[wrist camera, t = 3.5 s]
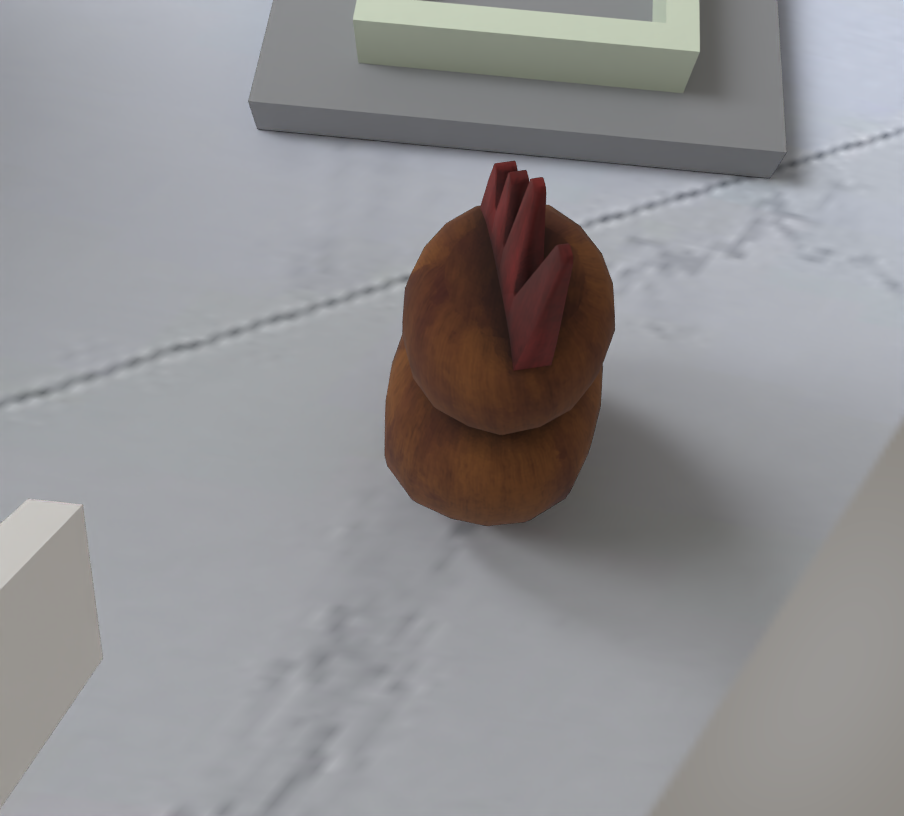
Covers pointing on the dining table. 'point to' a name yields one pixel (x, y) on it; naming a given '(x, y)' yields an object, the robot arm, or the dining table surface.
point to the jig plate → (534, 78)
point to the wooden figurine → (499, 358)
